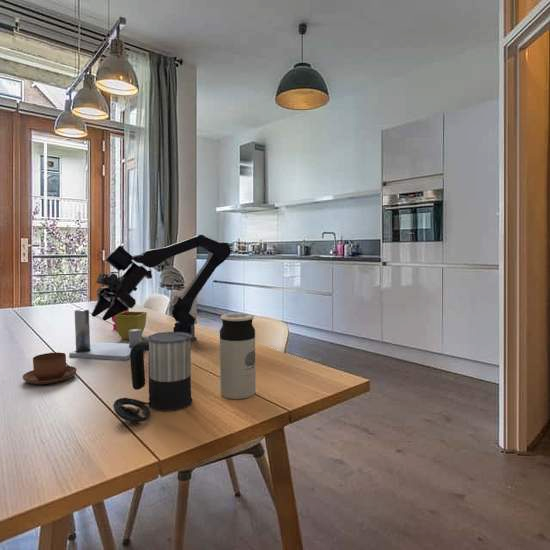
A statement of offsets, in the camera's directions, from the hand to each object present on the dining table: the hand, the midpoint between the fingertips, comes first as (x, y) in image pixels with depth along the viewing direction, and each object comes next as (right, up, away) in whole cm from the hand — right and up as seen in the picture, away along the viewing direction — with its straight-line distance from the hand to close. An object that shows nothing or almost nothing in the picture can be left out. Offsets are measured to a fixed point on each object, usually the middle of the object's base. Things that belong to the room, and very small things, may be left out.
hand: (97, 317), depth 129 cm
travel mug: (+48, -14, -36) cm, 61 cm away
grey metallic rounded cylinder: (-3, -10, -2) cm, 11 cm away
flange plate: (+4, -11, 0) cm, 12 cm away
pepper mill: (-6, -8, +37) cm, 39 cm away
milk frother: (+31, -15, -45) cm, 57 cm away
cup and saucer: (-1, -13, -25) cm, 29 cm away
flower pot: (+3, -10, +21) cm, 23 cm away
